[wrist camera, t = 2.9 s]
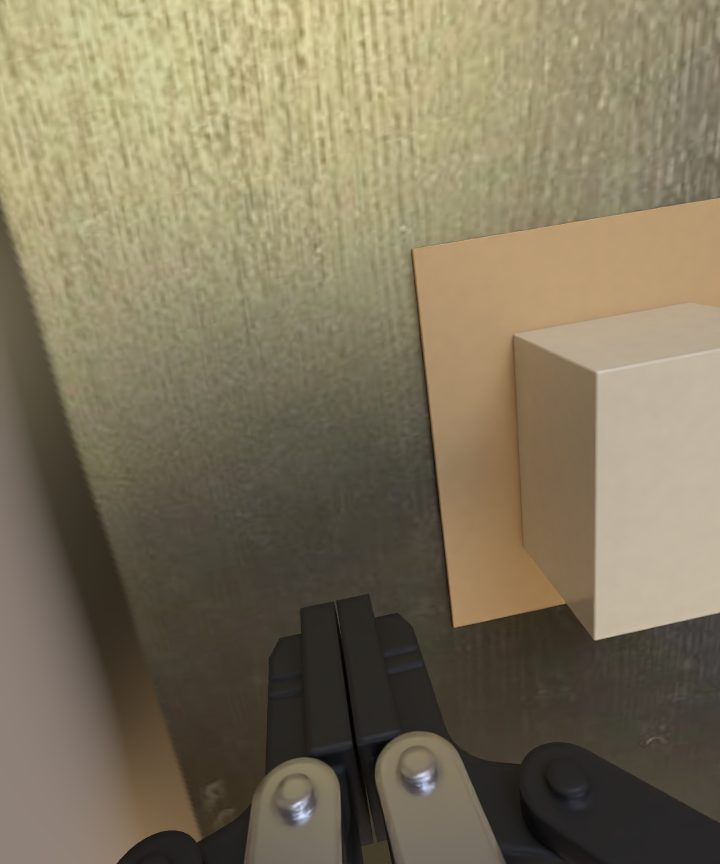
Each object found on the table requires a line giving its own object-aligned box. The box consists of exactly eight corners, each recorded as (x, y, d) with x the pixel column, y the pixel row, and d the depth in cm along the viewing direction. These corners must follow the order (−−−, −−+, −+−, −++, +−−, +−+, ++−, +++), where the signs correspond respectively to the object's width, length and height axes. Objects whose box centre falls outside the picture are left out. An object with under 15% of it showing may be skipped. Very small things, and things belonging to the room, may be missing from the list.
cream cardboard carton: (522, 547, 20) (594, 641, 16) (512, 333, 17) (596, 372, 13) (675, 515, 21) (789, 598, 16) (690, 301, 18) (833, 327, 13)
